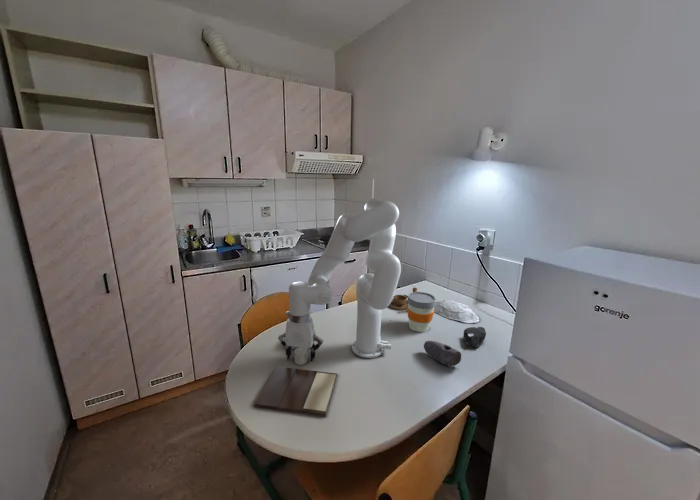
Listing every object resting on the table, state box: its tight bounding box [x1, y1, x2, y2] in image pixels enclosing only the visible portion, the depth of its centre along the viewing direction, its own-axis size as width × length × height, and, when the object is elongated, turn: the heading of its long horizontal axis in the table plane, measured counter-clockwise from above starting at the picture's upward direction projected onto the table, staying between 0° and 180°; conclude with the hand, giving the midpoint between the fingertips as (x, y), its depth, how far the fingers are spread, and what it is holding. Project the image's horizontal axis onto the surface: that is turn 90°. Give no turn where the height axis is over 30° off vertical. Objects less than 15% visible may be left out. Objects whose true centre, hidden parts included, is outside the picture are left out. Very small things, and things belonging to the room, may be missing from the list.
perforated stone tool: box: [423, 340, 462, 368], centre depth 113 cm, size 15×5×7 cm, turn 40°
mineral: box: [463, 326, 487, 348], centre depth 126 cm, size 10×9×6 cm
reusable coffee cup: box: [406, 291, 436, 333], centre depth 136 cm, size 13×13×15 cm
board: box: [254, 365, 338, 417], centre depth 97 cm, size 22×18×1 cm
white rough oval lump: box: [434, 299, 480, 324], centre depth 152 cm, size 16×25×7 cm, turn 45°
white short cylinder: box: [293, 348, 309, 366], centre depth 111 cm, size 5×5×4 cm
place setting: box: [389, 287, 418, 314], centre depth 160 cm, size 18×20×6 cm
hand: (300, 357), depth 111 cm, fingers open, 8 cm apart
